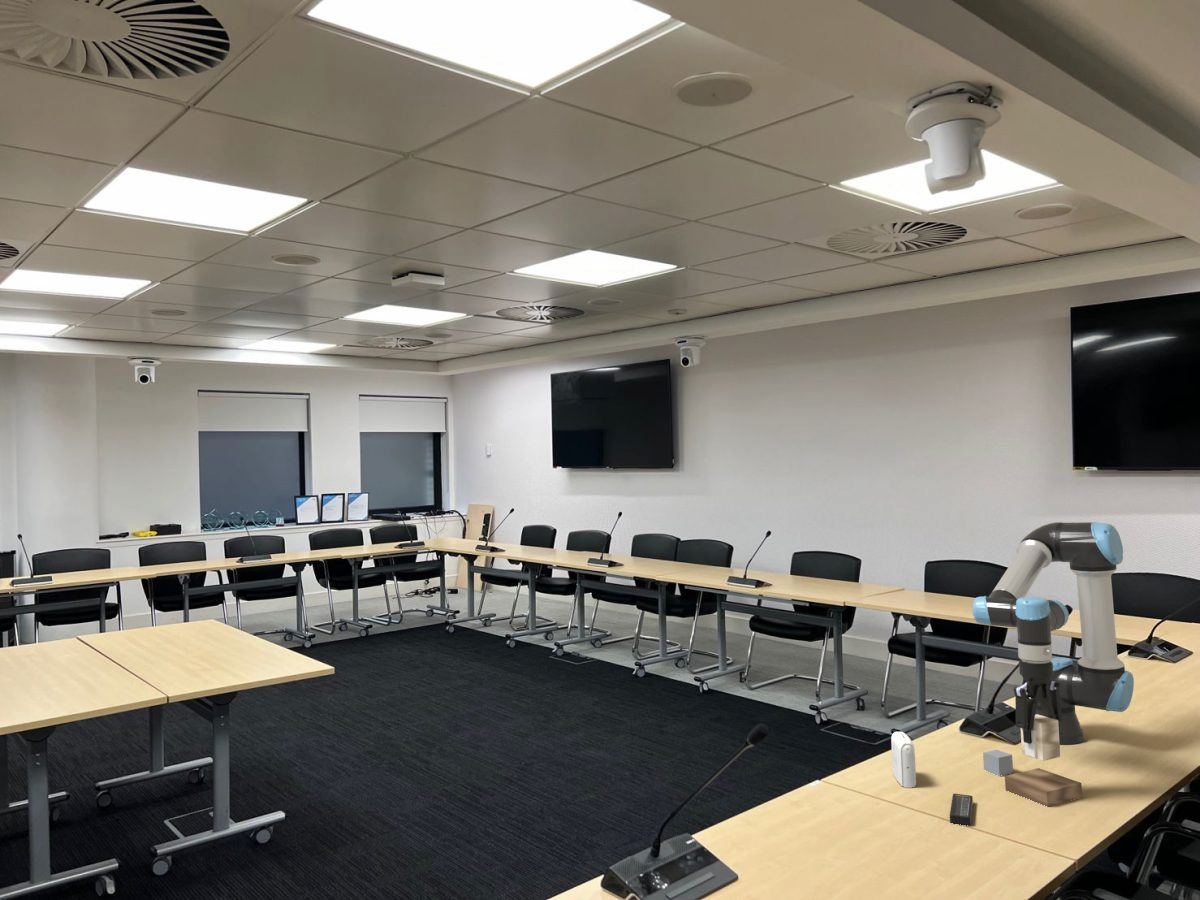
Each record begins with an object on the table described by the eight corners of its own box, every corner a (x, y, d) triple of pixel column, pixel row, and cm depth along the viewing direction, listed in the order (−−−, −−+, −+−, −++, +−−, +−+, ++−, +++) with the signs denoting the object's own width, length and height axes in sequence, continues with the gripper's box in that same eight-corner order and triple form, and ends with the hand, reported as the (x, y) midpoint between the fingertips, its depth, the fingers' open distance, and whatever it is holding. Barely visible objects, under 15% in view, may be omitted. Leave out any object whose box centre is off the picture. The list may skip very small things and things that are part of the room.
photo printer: (918, 788, 212) (916, 739, 213) (901, 788, 213) (899, 739, 213) (907, 774, 222) (904, 727, 223) (891, 774, 223) (888, 727, 223)
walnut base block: (1039, 783, 213) (1038, 768, 213) (1082, 799, 202) (1081, 783, 202) (1005, 792, 208) (1004, 776, 209) (1047, 808, 197) (1046, 791, 198)
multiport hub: (950, 825, 190) (949, 815, 190) (953, 802, 203) (953, 793, 203) (970, 828, 188) (970, 818, 188) (973, 805, 201) (972, 795, 201)
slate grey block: (997, 768, 224) (996, 749, 225) (1013, 773, 220) (1012, 754, 220) (984, 771, 223) (983, 752, 223) (999, 777, 218) (998, 757, 218)
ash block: (1038, 750, 210) (1036, 714, 210) (1060, 757, 204) (1058, 720, 204) (1022, 753, 207) (1020, 717, 208) (1043, 760, 202) (1041, 723, 202)
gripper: (1021, 667, 199) (1026, 764, 198) (1075, 658, 207) (1081, 752, 206) (995, 661, 206) (1000, 755, 205) (1049, 653, 214) (1054, 743, 213)
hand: (1040, 753), depth 206 cm, fingers closed on ash block, 6 cm apart
